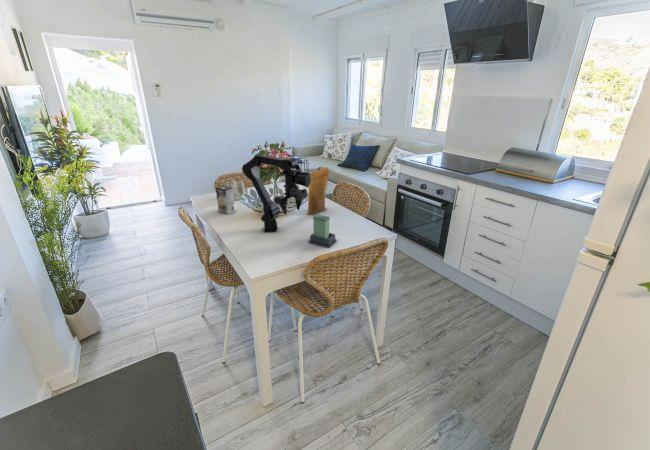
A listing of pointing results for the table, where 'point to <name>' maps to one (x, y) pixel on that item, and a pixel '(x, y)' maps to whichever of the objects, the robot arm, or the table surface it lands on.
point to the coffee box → (225, 199)
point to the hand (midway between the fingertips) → (292, 212)
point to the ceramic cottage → (238, 189)
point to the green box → (321, 226)
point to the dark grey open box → (323, 240)
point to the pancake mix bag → (317, 191)
